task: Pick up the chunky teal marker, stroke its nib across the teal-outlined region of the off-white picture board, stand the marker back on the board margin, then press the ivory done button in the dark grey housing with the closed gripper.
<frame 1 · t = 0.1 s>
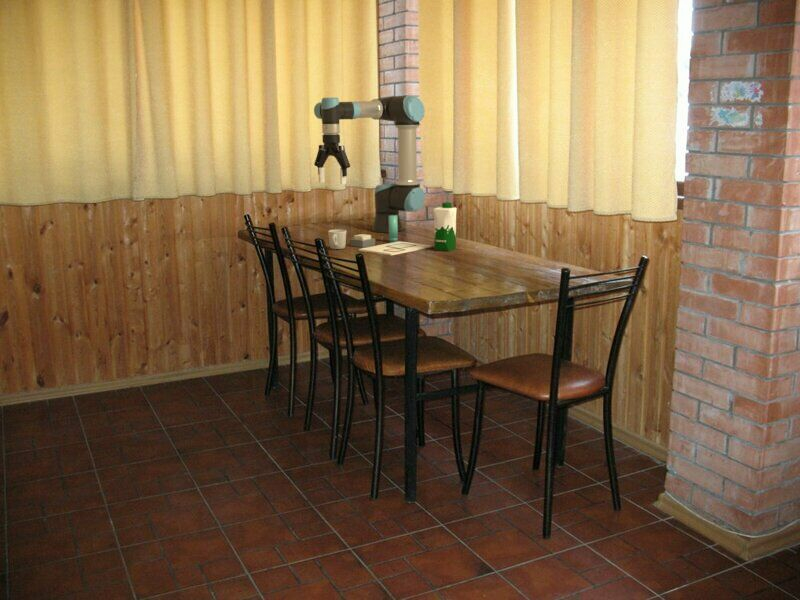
hand: (332, 183, 382), 28 cm above the table, fingers open, 13 cm apart
marker: (393, 241, 398), on the table
cup: (336, 249, 381), on the table
done button: (362, 238, 389), point 3 cm above the table, slide at 0.0 cm
milk carton: (444, 250, 376), on the table
button housing: (362, 245, 389), on the table
picture board: (395, 249, 379), on the table
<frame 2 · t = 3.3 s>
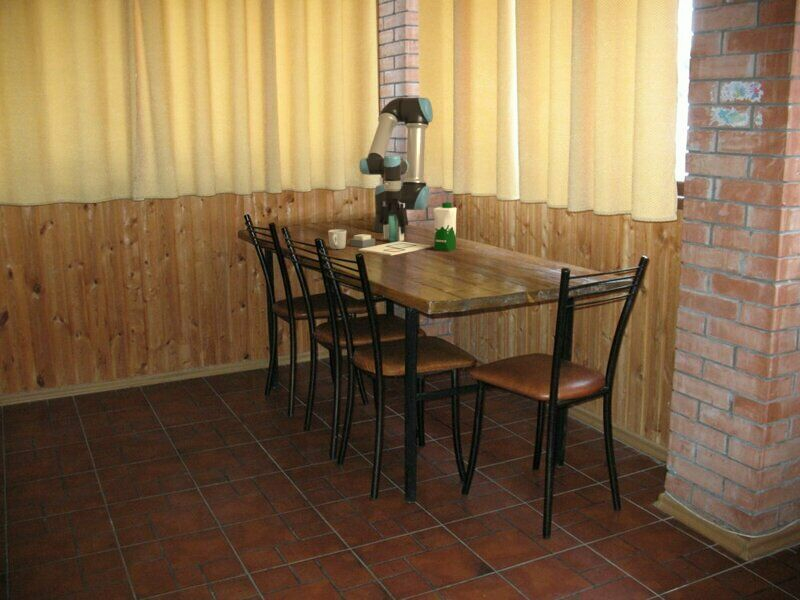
hand: (393, 239, 398), 1 cm above the table, fingers open, 9 cm apart
nothing on the table moved.
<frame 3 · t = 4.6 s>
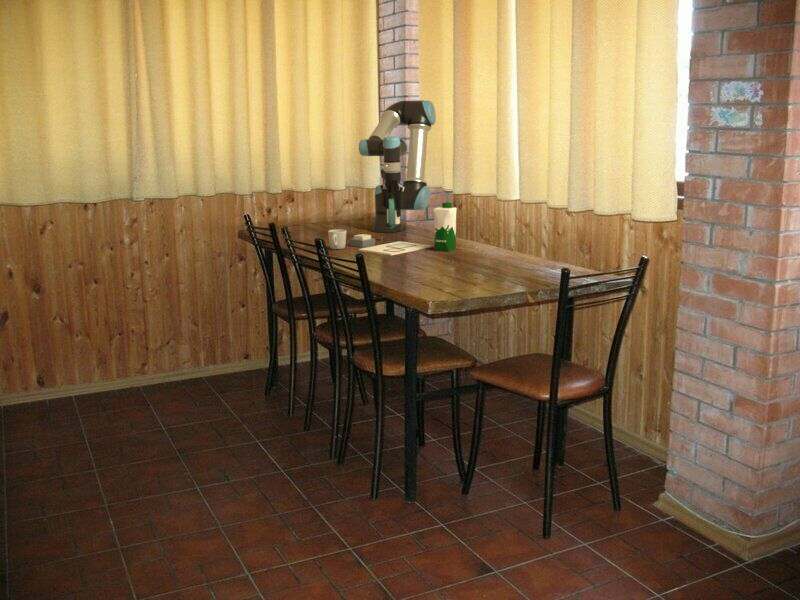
hand: (393, 223, 397), 8 cm above the table, fingers closed on marker, 4 cm apart
marker: (393, 225, 397), point 8 cm above the table, touching gripper
everything else where it was.
when the fingers open (2 cm above the table, at t = 12.5 s): marker stays where it is, resting on picture board.
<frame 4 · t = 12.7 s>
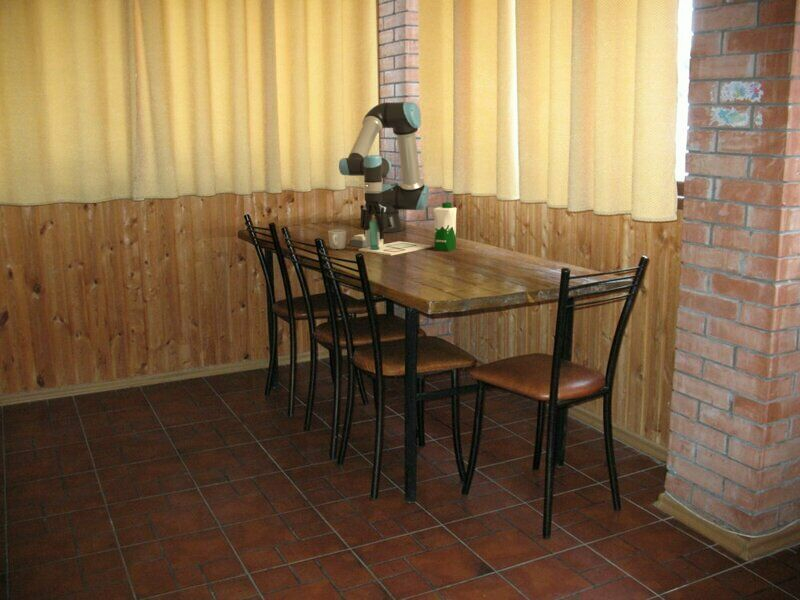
hand: (374, 245, 375), 2 cm above the table, fingers open, 7 cm apart
marker: (374, 248, 375), point 1 cm above the table, touching picture board
everything else where it was.
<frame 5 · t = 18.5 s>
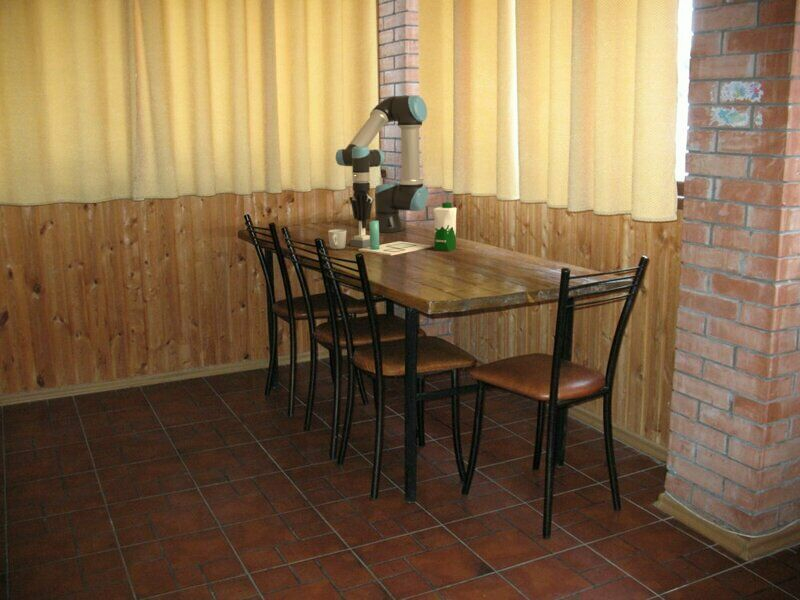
hand: (362, 235, 388), 5 cm above the table, fingers closed
done button: (362, 239, 389), point 3 cm above the table, slide at 0.2 cm, touching gripper
everything else where it was.
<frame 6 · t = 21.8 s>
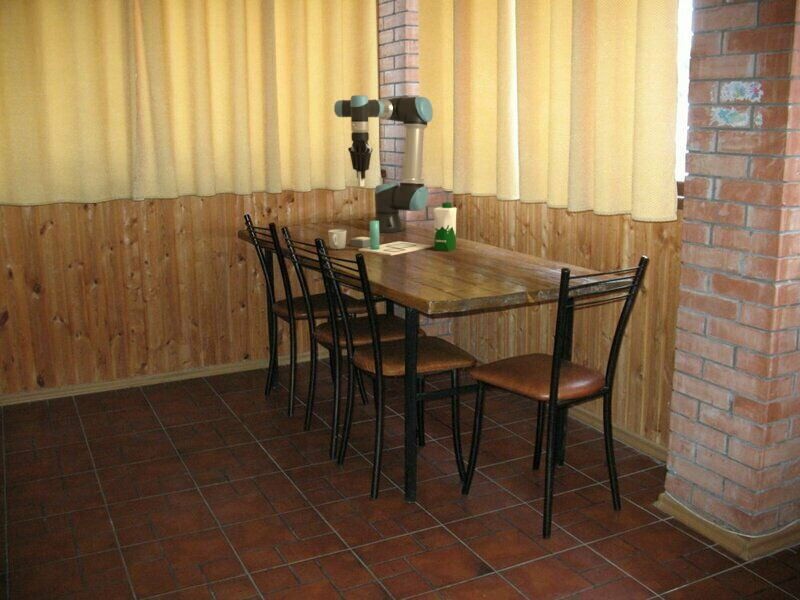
hand: (361, 186, 383), 26 cm above the table, fingers closed
done button: (362, 241, 389), point 2 cm above the table, slide at 1.2 cm
everything else where it was.
at the end: done button slide at 1.2 cm; marker inside the target area (0.3 cm from its centre), point 0.8 cm above the table; marker tilted 1° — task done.
